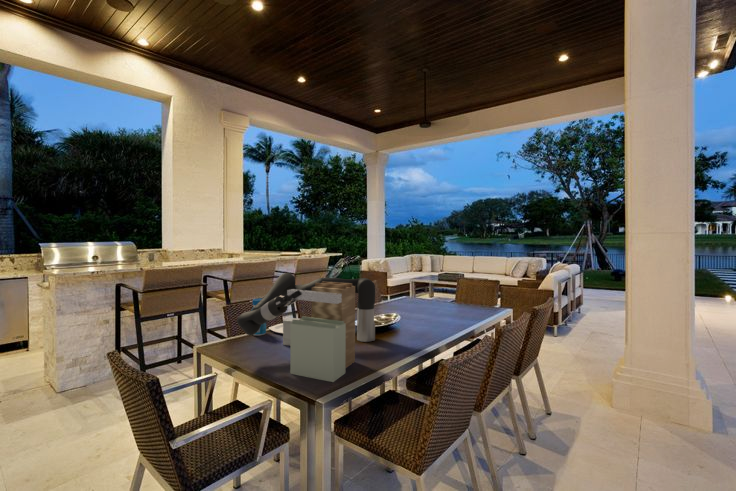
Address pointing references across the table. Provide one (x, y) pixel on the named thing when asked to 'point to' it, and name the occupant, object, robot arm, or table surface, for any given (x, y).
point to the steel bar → (317, 296)
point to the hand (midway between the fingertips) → (302, 291)
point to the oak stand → (339, 312)
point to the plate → (277, 328)
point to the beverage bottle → (263, 326)
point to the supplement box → (287, 330)
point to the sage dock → (318, 348)
